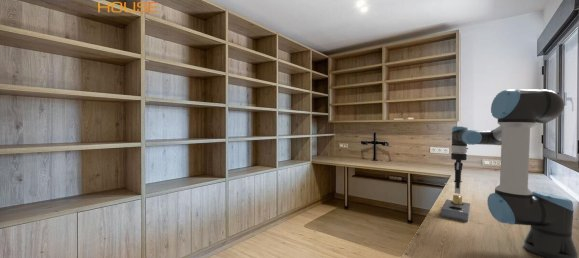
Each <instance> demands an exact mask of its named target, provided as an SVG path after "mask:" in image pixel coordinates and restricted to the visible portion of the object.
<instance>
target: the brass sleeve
mask: <svg viewBox="0 0 579 258" xmlns="http://www.w3.org/2000/svg"><path fill="white" fill-rule="evenodd" d="M452 200H453V204H455V205H462V202H463V195H460V194H453V196H452Z"/></svg>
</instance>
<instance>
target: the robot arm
mask: <svg viewBox="0 0 579 258" xmlns="http://www.w3.org/2000/svg"><path fill="white" fill-rule="evenodd" d="M564 109H565V102H564V99H563V98H562V96H561V95H560V94H558V93H557V92H555V91H553V90H550V89H549V90H548V89H519V88H518V89H516V88H515V89H505V90H502V91H500V92H498V93H497V94H496V95H495V97H494V98H493V100H492V102H491V106H490V113H491V116H492V117H493V118H494V119H496V120H497V124H498V125H499V126H497V127H496V128H494V129H492V130H478V129H477V130H476V129H473V130H472V129H469V130H468V127H467V126H453V127H452V130H451V146H450V147H451V148H450V152H451V154H450V158H451V160H454V164H453V166H454V180H453V182H454V194H456V195H460V194H461V189H462V188H461V185H462V182H463V181H462V171H463V163H462V161H467V155H468V154H467V153H468V151H467V150H469V147H468V145H473V146H474V145H481V146H482V145H488V146H501V148H500V170H499V171H500V173H499V174H500V175H499V185H498V186H495V188H494V192H492V193H489V195H488V196H487V206H488V210H489V213H490V215H491V216H492V217H493V218H494V219H495V221H497V222H498V223H501V224H507V225H512V226H513V225H519V226H521V225H522V226H530V229H529V231H528V233H527V234H526V236H525V239H524V240H523V247H524V248H525V250H527V251H529V252H530V253H533V254H535V255H538V256H540V257H543V258H579V253H578V250H577V247H576V245H575V242H574V240H573V221H574V219H573V218H574V203H573V201H572V200H570V199H569V198H567V197H563V196H561V195H557V194H552V193H548V192H541V191H537V190H536V191H531V190H530V189H529V166H530V165H529V164H530V161H529V160H530V141H531V137H530V136H531V128H533V127H535V126H537V125H540V124H546V123H549V122H551V121H553V120H555V119H556V118H558V117H559V116H561V114H562V113H563V112H564Z"/></svg>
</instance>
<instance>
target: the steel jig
mask: <svg viewBox="0 0 579 258" xmlns="http://www.w3.org/2000/svg"><path fill="white" fill-rule="evenodd" d="M440 211H441V212H440V213H441V214H440V217H442V218H447V219H453V220H456V221H462V222H466V223H468V222H469V218H470V217H469V216H470V211H471V203H468V202H464V201H462V205H455V204H453V199H452V200H451V199H445V201H444V203H443V205H442V207H441V210H440Z"/></svg>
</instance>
